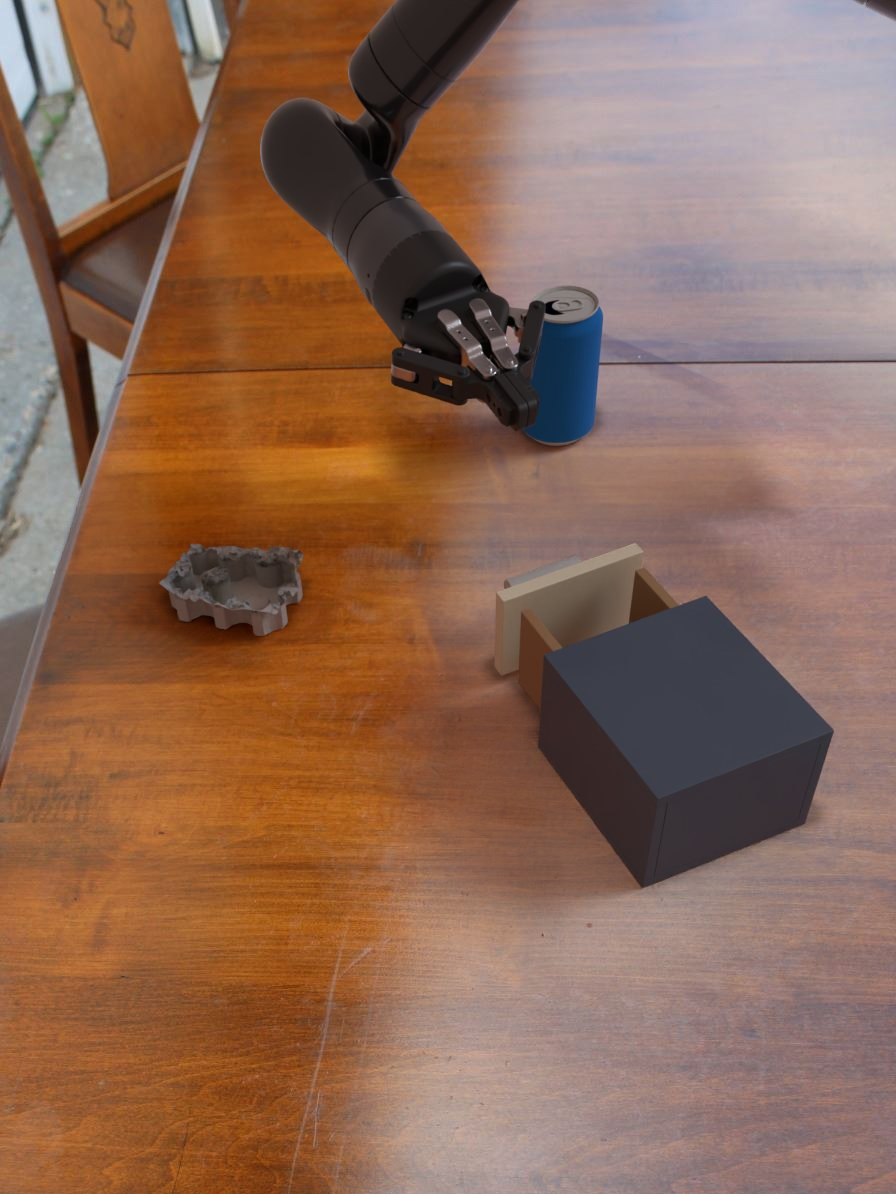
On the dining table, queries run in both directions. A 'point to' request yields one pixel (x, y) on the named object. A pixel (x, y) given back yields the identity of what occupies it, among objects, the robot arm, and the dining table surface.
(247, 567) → the egg carton
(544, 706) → the cabinet
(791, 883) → the dining table surface
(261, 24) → the dining table surface
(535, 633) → the drawer
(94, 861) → the dining table surface
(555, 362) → the beverage can
